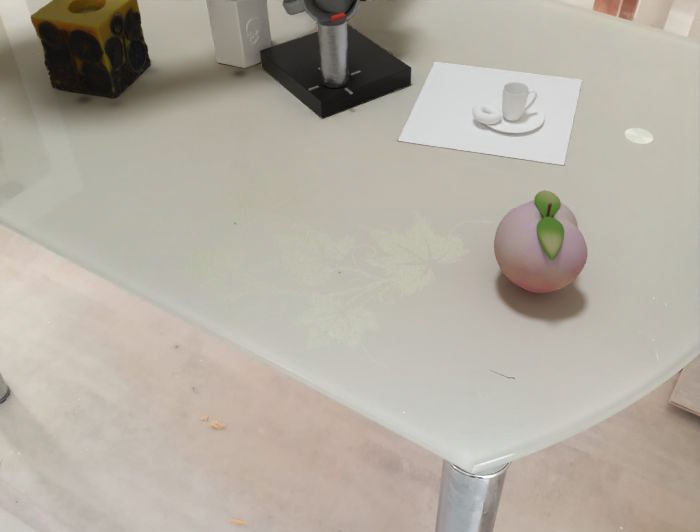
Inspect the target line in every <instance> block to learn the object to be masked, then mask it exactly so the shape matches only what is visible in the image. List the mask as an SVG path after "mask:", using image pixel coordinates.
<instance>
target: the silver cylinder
mask: <svg viewBox="0 0 700 532" xmlns="http://www.w3.org/2000/svg"><path fill="white" fill-rule="evenodd" d="M316 24H317V32H318V42H319V57H320V73H321V83H322V84H323V85H324V86H326V87H329V88H339V87H343V86H345V85H346V84H347V83H348V82H349V67H348V38H347V24H348V21H347V18H346V17H345V14H344V13H340V14H338V13H328V14H324V15H322V16H320V17H319V18H318V19H317V22H316Z"/></svg>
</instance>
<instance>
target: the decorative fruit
mask: <svg viewBox="0 0 700 532" xmlns="http://www.w3.org/2000/svg"><path fill="white" fill-rule="evenodd" d="M493 249H494V250H493V252H494V256H495V259H496V262H497V265H498V267H499V269H500V271H501V272H502V274H503V275H504V276H505V277H506V278H507V279H508V280H510V282H512V283H513V284H515V285H516V286H518V287H519V288H521V289H523V290H525V291H528V292H532V293H536V294H544V293H551V292H552V293H553V292H556V291H559V290H561V289H563V288H565V287H567V286H569V284H571V283H572V282H574V280H576V279H577V278H578V276H579V275H580V274H581V273H582V271H583V270H584V267H585V265H586V264H587V261H588V260H587V259H588V244H587V243H586V239H585V237H584V234H583V233H582V232H581V230H580V229H579V225H578V220H577V218H576V216H575V214H574V212H573V211H572V210H571V209H570V207H568V206H567V205H565V204H564V203H562V202H561V199H560V198H559V197H558V195H556V194H555V193H554V192H552V191H549V190H541V191H539V192H537V193H536V194H535V196H534V199H533V200H530V201H528V202H525V203H522V204H520V205H517V206H515V207H514V208H512V209H511V210H509V211H508V212H507V213H506V214H505V215H504V216H503V217H502V219H501V220H500V222H499V223H498V225H497V228H496V231H495V234H494V240H493Z"/></svg>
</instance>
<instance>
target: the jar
mask: <svg viewBox="0 0 700 532" xmlns="http://www.w3.org/2000/svg"><path fill="white" fill-rule="evenodd" d="M206 4H207V5H206V6H207V12H208V18H209V23H210V29H211V35H212V42H213V46H214V53H215V59H216V62H217V63H218V64H223V65H228V66H232V67H237V68H241V69H248V68H250V67H252V66H255V65H258V64H261V57H260V50H263V49H266V48H269V47H272V35H271V26H270V16H269V8H268V0H206Z"/></svg>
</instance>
